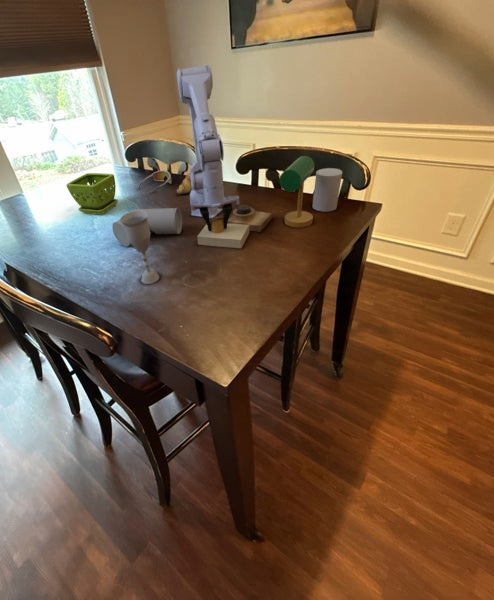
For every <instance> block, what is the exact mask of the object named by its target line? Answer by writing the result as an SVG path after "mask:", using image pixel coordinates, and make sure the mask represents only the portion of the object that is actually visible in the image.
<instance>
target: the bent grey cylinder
mask: <svg viewBox="0 0 494 600" xmlns="http://www.w3.org/2000/svg"><path fill="white" fill-rule="evenodd" d="M134 211H144V212H146V213H148V218H147V221H148V226H149V230H150V235H151V234H152V233H155V234H156V235H180V234H181V232H182V229H183V217H182V212H181V210H180V208H179V207H172V208H171V207H169V208H167V207H166V208H136V209H134V208H133V209H132V212H134ZM111 228H112V233H113V235H114V237H115V239H116V240H117V242H118V243H119V244H120V245H122V246H123V247H129V246H132V244H131V243H130V241H129V240H128V239H127V235H126V232H125V228H124V225H123V224H122V222H121V221H120V219H118V220H117V221H114V222H113V223H112V226H111Z"/></svg>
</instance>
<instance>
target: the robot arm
mask: <svg viewBox="0 0 494 600" xmlns="http://www.w3.org/2000/svg"><path fill="white" fill-rule="evenodd" d="M176 80H177V81H176V82H177V88H178V92H179V93H178V94H179V99H180V101H181V103H183V104H185V105H187V108H188V111H189V116H190V123H191V130H192V138H193V145H194V152H195V161H194V162H193V163H192V164H191V165H190V167H189V174H190V180H191V186H192V191H191V192H190V193H189V203H190V209H191V213H190V216H193V217H200V218H203V219H204V222H205V225H206V224H207V226H208V230H209V231H211V227H210V219H211V218H213V217H217V216H218V215H219V214H220V213H221V212H222V217H223V219H224V228H225V229H227V223H228V220H229V219H230V217H231V214H232V213H233V205H241V204H240V196H239V195H225V190H224V189H225V188H224V174H223V161H224V155H225V154H224V153H225V152H224V144H223V140H222V138H221V136H220V134H218V129H217V123H216V120H215V116H213V114H211V113H210V110H209V109H210V108H209V101H208V100H210V99H211V95H212V91H213V84H214V83H213V82H214V80H213V71H212V68H211V67H210V65H209V64H206V65H202V66H195V67H188V68H186V67H185V68H177V71H176Z"/></svg>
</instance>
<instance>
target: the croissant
mask: <svg viewBox="0 0 494 600" xmlns="http://www.w3.org/2000/svg"><path fill="white" fill-rule="evenodd" d="M191 191H192V186H191V180H190V173H188V174H187V175H185V178H184V179H183V180H182V181H181V183H180V184H179V186H178V188H177V189H176V193H177V194H178V195H185V194H190V193H191Z"/></svg>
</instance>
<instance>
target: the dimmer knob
mask: <svg viewBox="0 0 494 600" xmlns="http://www.w3.org/2000/svg"><path fill="white" fill-rule="evenodd" d="M209 221H210V227H211V232H213V233H220V232H223V231H224V219H223V216H215V217H213V218H209Z"/></svg>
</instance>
